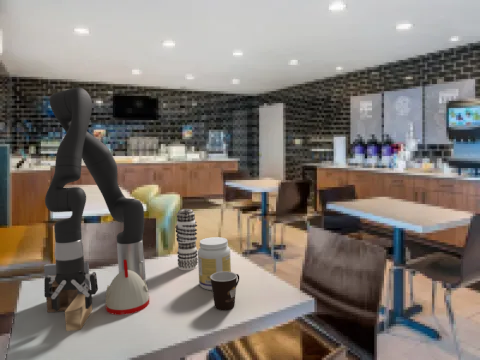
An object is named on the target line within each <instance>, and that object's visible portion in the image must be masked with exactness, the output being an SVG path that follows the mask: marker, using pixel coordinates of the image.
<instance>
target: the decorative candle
mask: <svg viewBox="0 0 480 360" xmlns="http://www.w3.org/2000/svg"><path fill="white" fill-rule="evenodd" d="M195 214H196V212H194V210H193V209H191V208H181V209H178V211H177V212H176V213H175V215H176V225H175V233H176V234H175V235H176V242H177V246H178V247H177V252H176V253H177V269H179V270H181V271H193V270H195V269H197V268H198V250H197V243H196V242H197V239H198V237H196V235H198V233H197V231H198V229H197V228H196V227H198V224H197V221H196V217H195Z"/></svg>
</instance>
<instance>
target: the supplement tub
mask: <svg viewBox="0 0 480 360" xmlns="http://www.w3.org/2000/svg"><path fill="white" fill-rule="evenodd" d="M197 259H198V260H197V262H198V263H197V265H198V267H197V268H198V283H199V286H200V287H201V288H202V289H205V290H208V291H212V285H211V278H210V276H211V275H212V274H214V273H217V272H232V266H231V265H232V264H231V260H232V259H231V248H230V247H229V243H228V239H227V238H225V237H221V236H220V237H218V236H217V237H216V236H213V237H206V238H203V239H200V240H199V248H198V250H197Z"/></svg>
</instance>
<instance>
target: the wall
mask: <svg viewBox="0 0 480 360" xmlns="http://www.w3.org/2000/svg"><path fill="white" fill-rule="evenodd" d="M43 270H44V279H45V278H46V277H47V276H48V275H52V276H53V275H56V264H55V263H47V264H44V265H43ZM84 271H85V273H86V274H90V266H89V261H84ZM84 282H85V283H86V284H87V285H88V287H89V288H90V289H91V284H90V281H88V279H87V278H86V279H85V280H84ZM77 293H78V294H83V293H82V292H80V291H79V290H78V289H77Z"/></svg>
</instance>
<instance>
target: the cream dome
mask: <svg viewBox="0 0 480 360" xmlns="http://www.w3.org/2000/svg"><path fill="white" fill-rule="evenodd" d="M146 281H147V280H146ZM146 281H145V280H142V279H141V277H140V276H139V275H138V274H137V273H135V272H133V271H131V270H128V268H127V260H124V271H122V272H120V273H119V272H118V273H117V274H116V275H115V277H114V278H113V279H112V280H111V282H110V284H109V285H107V287H106V292H105V293H106V294H105V310H106V312H107V313H109V314H112V315H116V316H117V315H120V316H122V315H124V316H125V315H131V314H135V313H138V312H140V311H142V310H145V309H146V308H147V307H148V306H149V305H150V294H149V289H148V285H147V282H146Z"/></svg>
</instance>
